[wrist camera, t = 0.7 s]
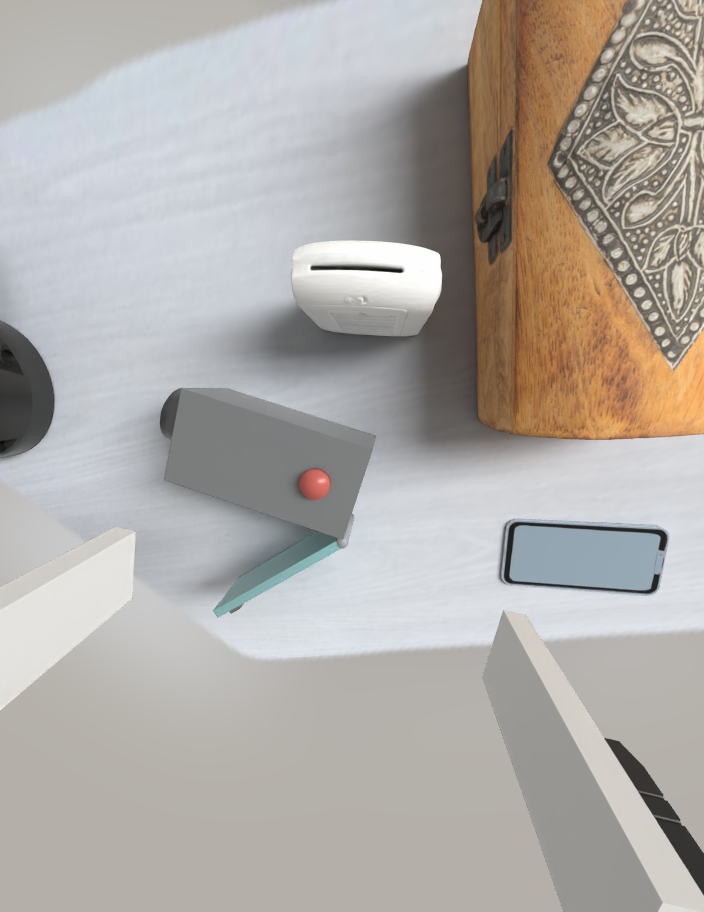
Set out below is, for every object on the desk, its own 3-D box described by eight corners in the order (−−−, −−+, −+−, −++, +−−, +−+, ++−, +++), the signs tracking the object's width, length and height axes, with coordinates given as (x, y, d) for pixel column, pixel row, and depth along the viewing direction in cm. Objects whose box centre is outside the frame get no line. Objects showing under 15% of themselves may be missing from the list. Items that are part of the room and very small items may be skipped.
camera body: (189, 453, 36) (128, 472, 28) (204, 380, 35) (144, 377, 26) (352, 507, 36) (341, 544, 27) (375, 436, 34) (372, 451, 25)
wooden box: (453, 61, 28) (516, -252, 14) (673, 22, 26) (988, -382, 12) (458, 424, 33) (506, 448, 20) (640, 413, 31) (831, 431, 18)
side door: (247, 590, 38) (221, 627, 32) (237, 577, 38) (209, 611, 32) (360, 526, 35) (355, 553, 29) (350, 511, 35) (343, 535, 29)
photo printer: (428, 291, 31) (455, 228, 19) (423, 340, 32) (445, 309, 20) (319, 286, 32) (277, 223, 20) (316, 333, 33) (276, 300, 21)
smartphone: (507, 518, 34) (671, 527, 32) (504, 515, 35) (663, 523, 33) (500, 585, 35) (657, 597, 34) (498, 580, 36) (650, 591, 35)
